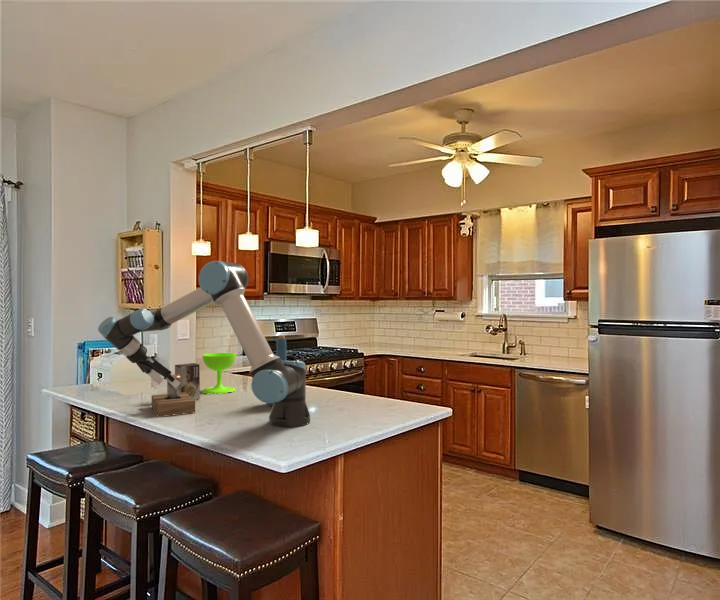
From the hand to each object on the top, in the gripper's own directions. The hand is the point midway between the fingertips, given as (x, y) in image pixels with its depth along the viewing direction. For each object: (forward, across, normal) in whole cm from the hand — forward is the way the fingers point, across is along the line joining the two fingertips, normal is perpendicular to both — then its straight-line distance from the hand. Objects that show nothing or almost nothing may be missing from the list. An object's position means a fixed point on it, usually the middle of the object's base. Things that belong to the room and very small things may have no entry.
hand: (169, 383), depth 218 cm
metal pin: (+8, +1, -6) cm, 10 cm away
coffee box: (+19, -13, +3) cm, 23 cm away
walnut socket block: (+8, +1, -7) cm, 11 cm away
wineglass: (+35, -22, +19) cm, 45 cm away
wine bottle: (+35, +26, +19) cm, 47 cm away
